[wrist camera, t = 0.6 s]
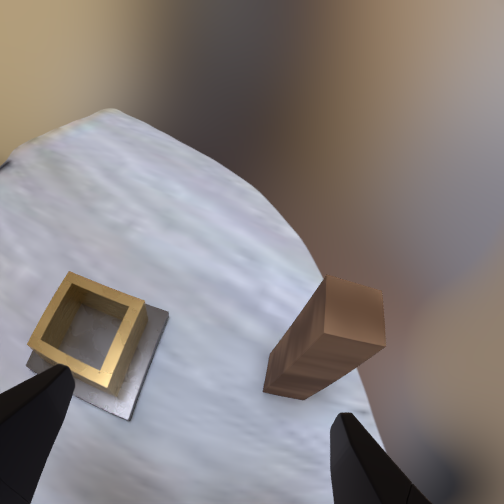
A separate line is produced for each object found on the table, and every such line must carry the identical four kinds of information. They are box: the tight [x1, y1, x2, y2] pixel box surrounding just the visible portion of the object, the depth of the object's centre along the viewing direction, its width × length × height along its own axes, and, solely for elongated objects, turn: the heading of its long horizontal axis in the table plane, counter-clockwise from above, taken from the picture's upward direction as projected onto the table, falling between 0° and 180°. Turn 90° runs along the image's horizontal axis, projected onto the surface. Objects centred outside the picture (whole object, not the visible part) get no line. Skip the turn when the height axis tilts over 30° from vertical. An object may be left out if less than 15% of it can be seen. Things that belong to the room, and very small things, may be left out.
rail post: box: [263, 275, 386, 400], centre depth 21 cm, size 4×4×13 cm
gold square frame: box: [26, 271, 169, 421], centre depth 21 cm, size 11×11×4 cm
